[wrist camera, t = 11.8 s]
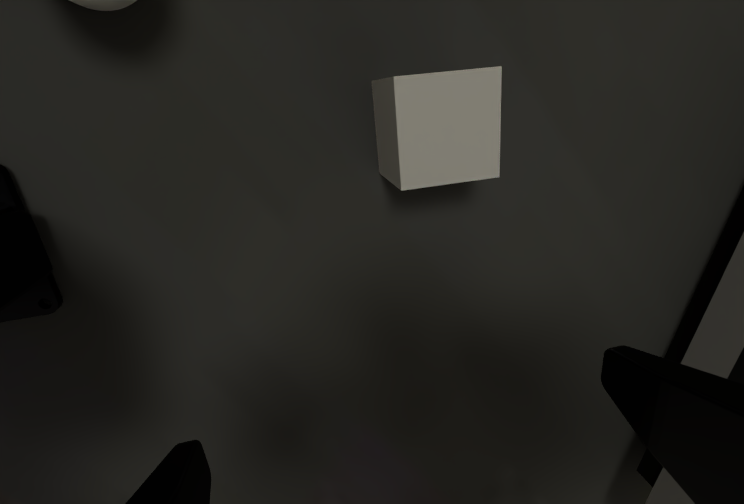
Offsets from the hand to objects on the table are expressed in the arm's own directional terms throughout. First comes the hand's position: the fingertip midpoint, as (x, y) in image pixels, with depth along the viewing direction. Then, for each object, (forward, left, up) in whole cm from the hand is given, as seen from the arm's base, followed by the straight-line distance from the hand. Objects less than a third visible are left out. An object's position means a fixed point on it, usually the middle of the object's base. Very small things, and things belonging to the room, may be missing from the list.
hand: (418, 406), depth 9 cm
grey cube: (+4, +5, -12) cm, 14 cm away
